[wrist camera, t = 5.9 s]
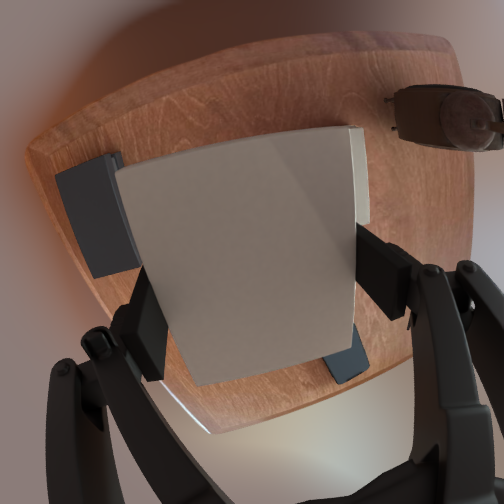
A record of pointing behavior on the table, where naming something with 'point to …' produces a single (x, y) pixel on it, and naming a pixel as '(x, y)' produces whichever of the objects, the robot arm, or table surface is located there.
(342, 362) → the smartphone
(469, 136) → the alarm clock
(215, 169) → the light grey rectangular slab
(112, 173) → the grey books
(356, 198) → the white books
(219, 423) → the table surface
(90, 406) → the robot arm
